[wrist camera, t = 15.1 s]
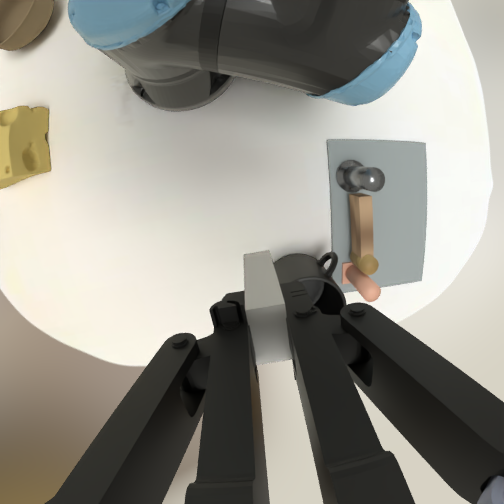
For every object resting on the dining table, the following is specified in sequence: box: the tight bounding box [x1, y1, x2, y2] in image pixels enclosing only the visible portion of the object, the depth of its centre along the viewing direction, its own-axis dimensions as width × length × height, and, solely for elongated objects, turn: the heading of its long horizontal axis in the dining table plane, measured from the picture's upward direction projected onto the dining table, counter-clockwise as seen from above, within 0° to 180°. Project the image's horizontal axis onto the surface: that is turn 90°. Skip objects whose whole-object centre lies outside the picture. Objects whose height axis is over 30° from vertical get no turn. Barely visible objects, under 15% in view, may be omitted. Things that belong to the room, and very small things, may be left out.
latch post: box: [342, 262, 381, 302], centre depth 38 cm, size 3×3×8 cm
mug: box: [274, 252, 346, 315], centre depth 38 cm, size 9×12×9 cm
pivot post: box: [336, 160, 385, 192], centre depth 34 cm, size 4×4×8 cm
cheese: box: [0, 106, 51, 189], centre depth 30 cm, size 10×11×10 cm
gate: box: [349, 193, 379, 275], centre depth 37 cm, size 10×2×4 cm, turn 7°
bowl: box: [0, 0, 54, 51], centre depth 23 cm, size 13×13×10 cm
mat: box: [327, 140, 427, 293], centre depth 40 cm, size 22×16×1 cm
